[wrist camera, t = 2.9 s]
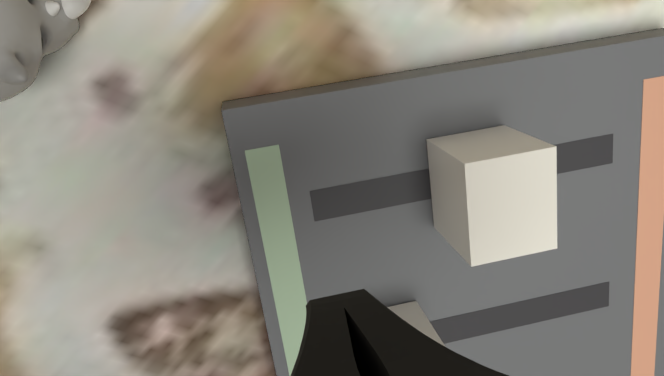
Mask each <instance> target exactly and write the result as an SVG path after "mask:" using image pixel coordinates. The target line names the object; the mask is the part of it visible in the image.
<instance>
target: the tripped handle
mask: <svg viewBox="0 0 664 376" xmlns="http://www.w3.org/2000/svg"><path fill="white" fill-rule="evenodd" d="M426 140H427V151H428V163H429V174H430V186H431V197H432V209H433V220H434V228H435V229H436V230H437V231H438V232H439V233H440V234H441V235H442V236H443V237H444V238H445V239H446V240H447V242H448V243H449V244H450V245H451V246H452V247H453V248H454V249H455V250H456V251H457V252H458V253H459V254H460V255H461V256H462V257H463V259H464V260H465V261H466V262H467V263H468V264H469V265H470V266H471V267H473V266H477V265H482V264H487V263H491V262H496V261H501V260H506V259H510V258H515V257H520V256H524V255H529V254H534V253H538V252H543V251H548V250H552V249H557V146H554V145H552V144H549V143H547V142H544V141H542V140H539V139H537V138H534V137H532V136H530V135H527V134H525V133H522V132H520V131H517V130H515V129H512V128H510V127H507V126H505V125H502V126H497V127H491V128H486V129H480V130H475V131H469V132H464V133H458V134H453V135H447V136H442V137H436V138H431V139H426Z"/></svg>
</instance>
